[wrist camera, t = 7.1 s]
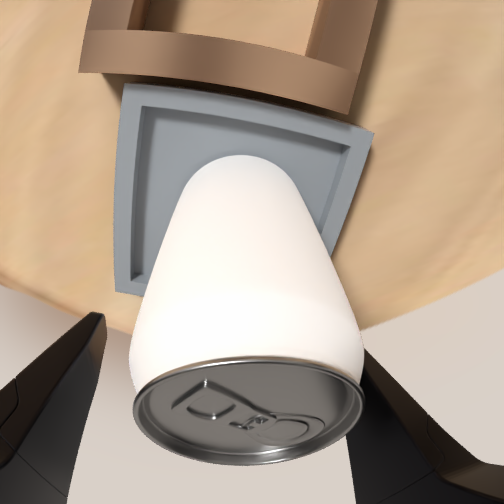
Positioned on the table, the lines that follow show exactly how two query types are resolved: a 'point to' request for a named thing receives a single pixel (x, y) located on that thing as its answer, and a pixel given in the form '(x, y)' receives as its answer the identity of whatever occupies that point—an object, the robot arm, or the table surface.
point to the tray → (215, 147)
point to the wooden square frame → (235, 53)
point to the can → (245, 326)
